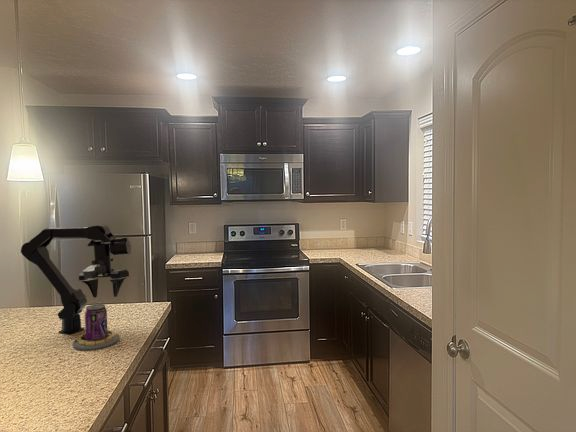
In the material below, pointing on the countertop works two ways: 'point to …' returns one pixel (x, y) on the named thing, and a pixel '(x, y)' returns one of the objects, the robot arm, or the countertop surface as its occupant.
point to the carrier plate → (87, 348)
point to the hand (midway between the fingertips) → (105, 297)
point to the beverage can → (95, 322)
